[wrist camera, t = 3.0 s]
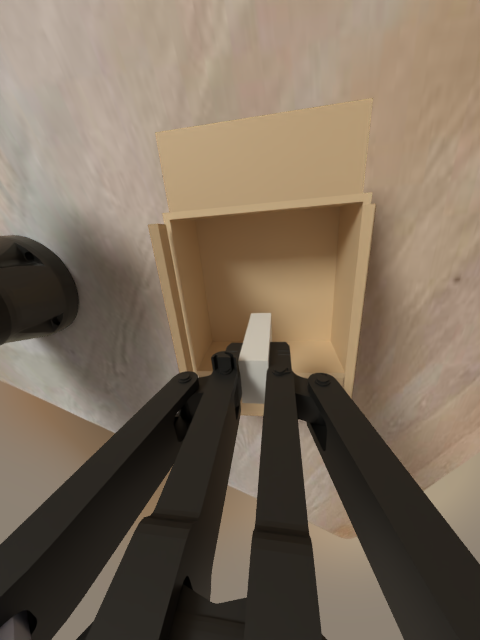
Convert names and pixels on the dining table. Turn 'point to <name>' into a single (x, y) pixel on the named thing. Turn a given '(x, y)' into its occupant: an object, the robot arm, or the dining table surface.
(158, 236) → the flap
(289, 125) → the carton
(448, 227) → the dining table surface
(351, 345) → the flap
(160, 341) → the dining table surface
